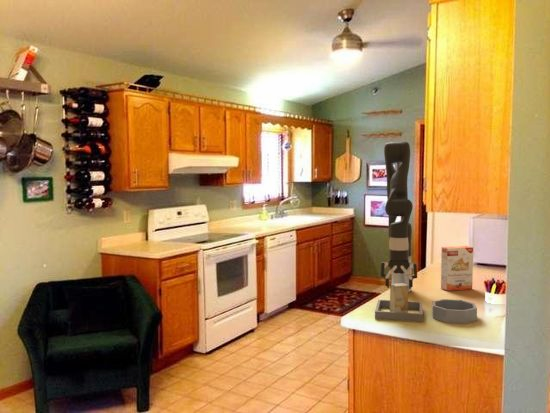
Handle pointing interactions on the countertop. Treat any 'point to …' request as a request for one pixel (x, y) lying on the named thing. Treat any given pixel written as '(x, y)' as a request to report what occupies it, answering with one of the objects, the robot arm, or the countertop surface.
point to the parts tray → (399, 315)
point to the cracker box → (456, 268)
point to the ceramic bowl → (454, 311)
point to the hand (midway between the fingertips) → (398, 287)
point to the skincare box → (399, 297)
